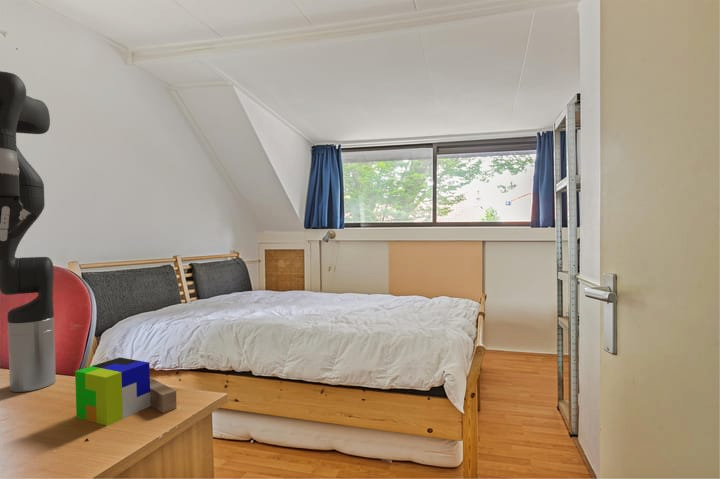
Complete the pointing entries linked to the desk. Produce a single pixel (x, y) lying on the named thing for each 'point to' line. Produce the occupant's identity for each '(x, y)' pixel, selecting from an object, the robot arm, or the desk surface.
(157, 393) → the block
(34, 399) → the desk surface
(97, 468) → the desk surface
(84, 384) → the puzzle toy
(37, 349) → the robot arm
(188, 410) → the desk surface
